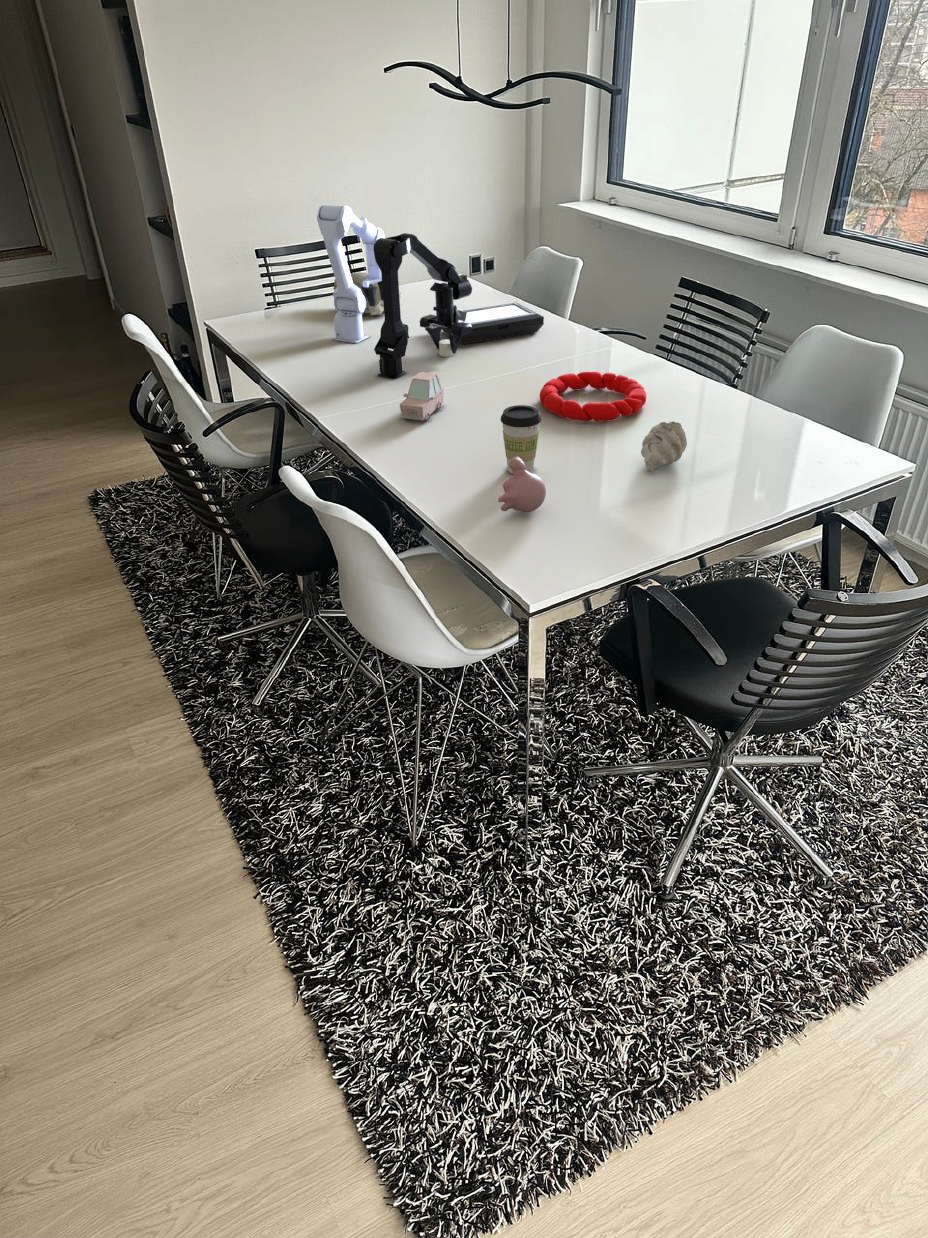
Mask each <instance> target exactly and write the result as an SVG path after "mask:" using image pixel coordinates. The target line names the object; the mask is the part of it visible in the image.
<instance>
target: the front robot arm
mask: <svg viewBox="0 0 928 1238" xmlns="http://www.w3.org/2000/svg"><path fill="white" fill-rule="evenodd" d="M373 250H374V256H375V260H376V263H377V265H378V266H379V268H380V270H381V275H382V289H383V303H384V310H383V315H384V316H383V317H384V320H383V322H382V325H381V327H380V336H379V339H378V340H377V342H376V344H375V346H374V348H373V350H374V353H375V355H376V356H379V359H378V365H379V373H377V376H378V377H380V378H386V379H392V380H396V379H398V378H399V377H402V376H403V375H405V374H406V371H405V370H403V359H402V358H404V357H406V353H407V347H408V343H409V339H410V336H409V325H408V324H405V323H403V321H402V317H401V316H402V315H401V300H400V299H401V297H400V298H399V291H400V285H399V283H400V282H399V270H400V267H401V265H402V264H403V256H406V255H408V254H409V253H410V254H411V255H412V256H413V257H414V258H416V259H417V260H418V261H419V262H420V263H421V264H423V265H424V267H426V269H427V270H426V271H427V273H428V274H429V276H430V277H431V278H432V279H433V280H435V281H437V282H434V283H433V285H431V286H430V288H429V290H430V291H432V292H435V293H434V294H435V295H434V297H435V306H433V307H432V309H433V310H432V311H435V314H431V313H430V314H428V315H424V316H421V318H420V319H419V327H420V328H424V330H425V331H426V332H427V334H428V336H429V337H430V338H431V341H432V342H433V344H434V346H435V347H436V349H437V350H438V351H439V341H441V340H442V338H441V336H442V334H441V332H442V331H443V330H442V328H447V329H451V332H452V334H449V335H448V334H447V335H448V340H450V345H451V350H452V353H453V354H454V355H455V354H456V353H457V350H458V347H459V344H460V342H459V341H460V339H461V337H462V336H463V335H466V334H469V333H472V326H471V325H470V324H469V323H464V322H465V320H466V315H467V312H464V311H465V310H460V309H458V307H457V304H456V305H455V304H454V301H457V300H460V299H464V298H467V297H469V296H471V295H472V292H473V286H472V283H471V281H469V279H468V275H466V274H461V275H460V274H459V273H458V271H457V270H456V269H457V267H456V265H455V264H454V263H452V262H450V261H448V260H446V259H444V258H441V257H439V256H438V255H437V254H435V252H433V251H432V250H431V249H430V248H429V247H428V246H426V244H424V243H423V242H422V241H421V240H420V239H419V238H418V237H417V235H415V234H414V233H407V232H403V233H400V234H398V235H393V236H389V237H385V238H379V239H378V240H377V241H376V243H375V244H374V248H373ZM438 281H439V282H438ZM440 282H441V283H440ZM458 320H461V321H463V322H461V323H458V324H454V322H458Z"/></svg>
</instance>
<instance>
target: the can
mask: <svg viewBox="0 0 928 1238" xmlns="http://www.w3.org/2000/svg"><path fill="white" fill-rule="evenodd" d="M438 351H439V352H438V353H439V356H441V357H444V358H448V357H453V356H454V355H455V354H453V353H452V350H451V345H450V340H449V339H441V341H439V350H438Z"/></svg>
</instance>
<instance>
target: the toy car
mask: <svg viewBox="0 0 928 1238" xmlns="http://www.w3.org/2000/svg"><path fill="white" fill-rule="evenodd" d="M441 384H442V383H441V381H440V378H439V375H438V373H436V372H426V371H419V373H417V374H416V375H414V376H413V377H412V378H411V381H410V385H409V388H408V390H407V391H408V392H407V393H404V394H403V397H404V398H405V399H404V400H403V401H401V402H400V403H399V409H400V414H401V418H402V419H407V420H415V421H423V422H424V421H425V422H426V421H429V420H430V416H431V414H433V413H434V412H435V411H440V410H441V408H442V406H443V403H444V395H445V393H444V392H445V388H444V387H442V385H441Z"/></svg>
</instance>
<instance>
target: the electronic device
mask: <svg viewBox="0 0 928 1238" xmlns="http://www.w3.org/2000/svg"><path fill="white" fill-rule="evenodd" d="M463 311H464V312H467V315H466V320H465V322H464V323H469V324H470V325H471V326H472V333H469V334H466V335H463V336H462V337H461V339H460V341H459V344H460V343H461V345H465V344H472V343H479V342H484V341H490V340H496V339H497V340H498V339H502V338H508V337H509V338H510V337H514V336H521V335H527V334H531V333H532V334H533V333H538V332H539V330H540V329H541V328H542V327H543V326H544V325H545V321H544V320H545V317H544V316H543V315H541V314H539V313H538V312H536V311H533V310H532V309H530V308H528V307H525V305H522V304H520V303H518V302H511V303H504V304H498V305H491V306H485V307H479V308H478V307H477V308H472V309H465V310H463ZM461 322H463V321H461V320H458V322H454V324H458V323H461ZM441 331H442V332H443V333H445V334H446V335H449V334H452V332H451V329H447V328H442V330H441Z"/></svg>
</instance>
